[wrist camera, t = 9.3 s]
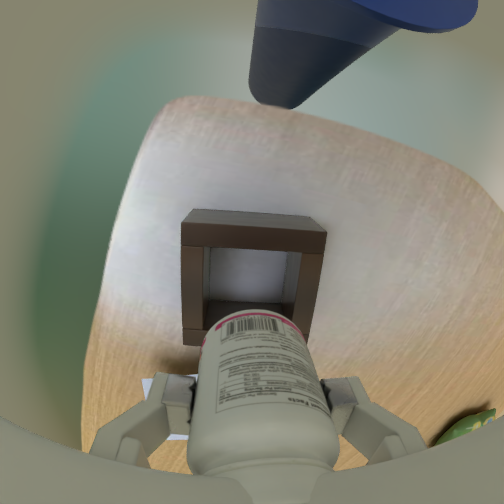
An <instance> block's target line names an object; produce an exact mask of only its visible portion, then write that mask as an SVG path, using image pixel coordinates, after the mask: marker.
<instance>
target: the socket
mask: <svg viewBox="0 0 504 504" xmlns="http://www.w3.org/2000/svg"><path fill="white" fill-rule="evenodd" d="M326 237H327V232H326V231H325V230H324V229H323V228H322V227H321V226H319V225H318V224H317V223H316V222H315V221H314V220H313V219H312V218H310V217H304V216H292V215H280V214H267V213H254V212H239V211H223V210H205V209H193V210H192V211H191V212H190V213H189V214H188V215H187V217H186V218H185V219H184V220H183V221H182V222H181V301H182V327H183V329H182V330H183V345H190V346H202V343H203V341H204V338H205V336H206V334H207V333H208V331H209V330H210V329H211V328H212V327H213V326H214V325H215V324H216V323H217V322H218V321H220V320H221V319H223V318H224V317H226V316H228V315H230V314H233V313H236V312H239V311H243V310H251V309H259V310H268V311H272V312H275V313H278V314H280V315H282V316H284V317H286V318H287V319H289V320H290V321H291V322H293V323H294V324H295V325H296V326H297V328H298V329H299V330H300V331H301V333H302V335H303V337H304V339H305V341H306V344H307V342H308V337H309V332H310V327H311V322H312V318H313V312H314V307H315V302H316V297H317V291H318V286H319V280H320V275H321V269H322V263H323V257H324V250H325V244H326ZM210 247H221V248H238V249H254V250H269V251H285V252H288V254H287V262H286V270H285V278H284V286H283V293H282V301H281V303H257V302H238V301H221V300H209V271H210Z"/></svg>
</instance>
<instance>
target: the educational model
mask: <svg viewBox="0 0 504 504" xmlns="http://www.w3.org/2000/svg"><path fill="white" fill-rule="evenodd" d="M495 412H496V409H495V408H494V409H491V410H486V411H483V412H480V413H478V414H476V415H470V416H467V417H465V418H463V419H461V420H460V421H458V422H457V423H455V424H454V425H453V426H452V427H451V428H450V429H449V430H447V431H446V432H445V433H444V434H443V435H442V436H441V437H440V439H439V440H438V441H437V443H436V444H435V446H437V445H439V444H442V443H445V442H447V441H450V440H452V439H455V438H457V437H459V436H462V435H464V434H466V433H469V432H471V431H473V430H475V429H477V428H479V427H481V426H484V425H486V424H488V423H490V422H491V421H493V420H495Z"/></svg>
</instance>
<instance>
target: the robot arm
mask: <svg viewBox="0 0 504 504" xmlns="http://www.w3.org/2000/svg"><path fill="white" fill-rule="evenodd" d="M320 384H321V387H322V390H323V393H324V396H325V399H326V402H327V405H328V408H329V411H330V414H331V417H332V420H333V423H334V426H335V429H336V432H337V435H338V434H342V436H343V437H344V438H345V439H346V440H347V441H348V442H350V443H351V444H352V445H353V446H354V447H355V448H356V449H357V450H358V451H359V452H361V453H362V454H363V455H364V456H365V457H366V458H367V459H368V460H369V461H368V463H367V464H366V465H365V466H362V467H357V468H352V469H347V470H341V471H334V472H328V473H323V474H321V475H320V476H319V477H318V478H317V480H316V483H315V486H314V489H313V491H312V493H311V494H310V497H311V498H310V501H309V502H308V503H304V504H504V415H503V416H501V417H499V418H497V419H495V420H493V421H491V422H490V423H488V424H486V425H484V426H481V427H479V428H477V429H475V430H473V431H471V432H469V433H466V434H464V435H462V436H459V437H457V438H455V439H452V440H450V441H447V442H445V443H442V444H439V445H437V446H434V447H431V448H427V446H426V444H425V442H424V440H423V438H422V437H421V435H420V433H419V431H418V429H417V428H416V427H414V426H412V425H411V424H409V423H407V422H406V421H404V420H402V419H401V418H399V417H397V416H396V415H394V414H392V413H391V412H389V411H387V410H386V409H384V408H383V407H381V406H379V405H378V404H376V403H375V402H374V403H371V401H370V399H369V397H368V395H367V393H366V391H365V389H364V387H363V385H362V383H361V381H360V379H359V377H357V376H353V377H345V378H344V377H343V378H330V379H321V380H320ZM195 390H196V377H194V376H186V375H178V374H168V373H162V372H156V374H155V375H154V378H153V381H152V384H151V387H150V390H149V393H148V396H147V399H146V401H143V400H142V401H141V402H139V403H138V404H136V405H135V406H133V407H132V408H130V409H129V410H127V411H126V412H124V413H123V414H121V415H120V416H118V417H117V418H115V419H114V420H112V421H111V422H109V423H107V424H106V425H104V426H103V427H101V428H100V429H99V430H98V432H97V434H96V437H95V439H94V442H93V444H92V447H91V449H90V452H89V454H88V453H85V452H82V451H79V450H76V449H73V448H70V447H68V446H65V445H62V444H60V443H57V442H54V441H52V440H49V439H47V438H44V437H42V436H40V435H37V434H35V433H33V432H31V431H29V430H26V429H24V428H22V427H20V426H18V425H16V424H14V423H12V422H10V421H8V420H6V419H4V418H2V417H0V504H254V503H253V502H252V497H251V496H250V495H249V494H248V492H247V491H246V490H245V489H244V487H243V486H242V485H241V484H240V482H239V481H237V480H235V479H233V478H228V477H212V476H200V475H190V474H181V473H174V472H167V471H160V470H155V469H151V467H150V465H149V462H148V460H147V458H148V457H149V456H150V455H151V454H152V453H153V452H154V451H155V450H156V449H157V448H158V447H159V446H160V445H161V444H162V443H163V442H164V441H165V440H166V439H167V438H168V437H169V436H170V435H171V434H178V435H189V429H190V423H191V416H192V410H193V403H194V397H195Z"/></svg>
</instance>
